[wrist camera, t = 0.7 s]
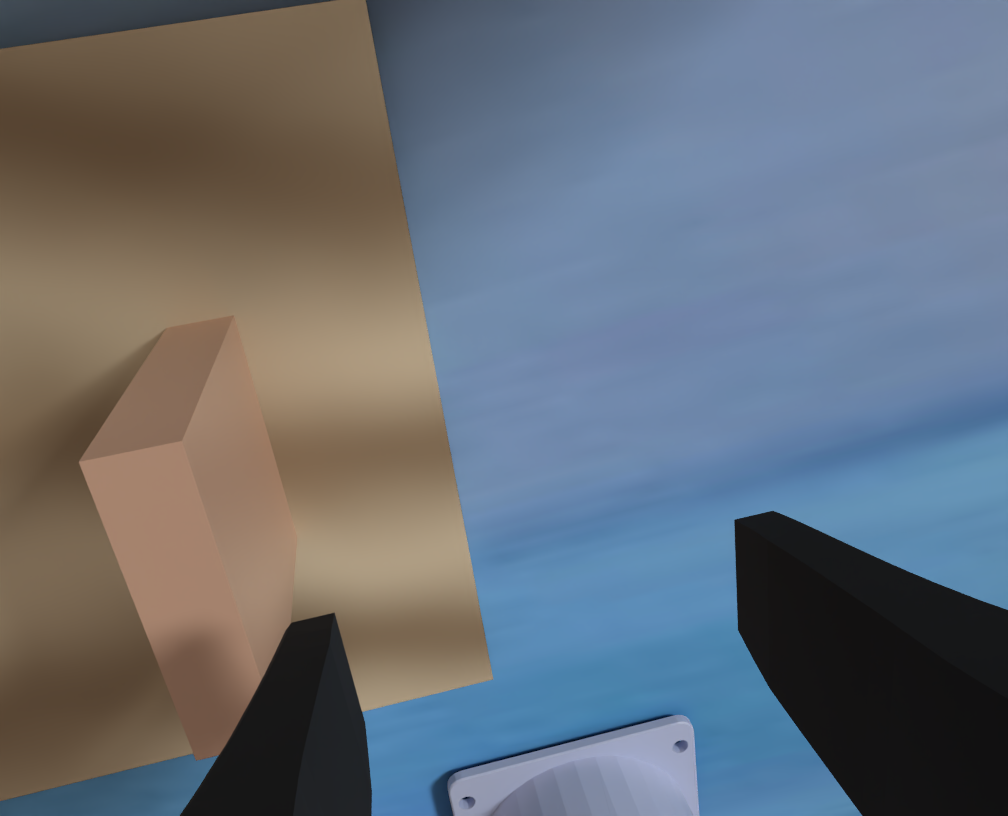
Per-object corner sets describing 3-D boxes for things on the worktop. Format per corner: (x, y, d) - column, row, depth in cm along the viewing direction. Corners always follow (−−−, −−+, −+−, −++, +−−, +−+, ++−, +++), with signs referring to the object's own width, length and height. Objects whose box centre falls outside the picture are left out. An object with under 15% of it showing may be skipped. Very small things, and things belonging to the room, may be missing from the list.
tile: (297, 537, 21) (281, 739, 15) (233, 552, 21) (189, 762, 15) (234, 315, 19) (182, 441, 12) (162, 328, 19) (71, 463, 12)
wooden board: (489, 665, 25) (493, 679, 24) (-39, 795, 23) (-48, 813, 22) (363, -2, 17) (364, -4, 17) (-423, 112, 16) (-450, 114, 15)
